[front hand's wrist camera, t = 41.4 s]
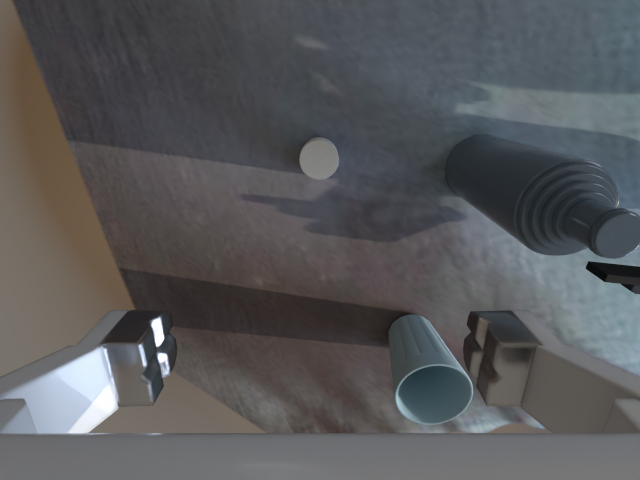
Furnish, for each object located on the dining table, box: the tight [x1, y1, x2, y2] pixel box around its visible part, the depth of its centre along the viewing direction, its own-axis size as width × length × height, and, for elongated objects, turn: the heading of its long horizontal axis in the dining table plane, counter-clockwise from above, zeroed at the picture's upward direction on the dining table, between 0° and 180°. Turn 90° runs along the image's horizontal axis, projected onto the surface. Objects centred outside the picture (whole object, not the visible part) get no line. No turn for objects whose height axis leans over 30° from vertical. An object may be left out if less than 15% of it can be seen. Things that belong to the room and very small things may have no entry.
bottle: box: [445, 134, 640, 258], centre depth 30 cm, size 7×7×20 cm
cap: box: [299, 137, 339, 180], centre depth 38 cm, size 4×4×2 cm
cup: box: [388, 314, 473, 425], centre depth 42 cm, size 8×8×10 cm
